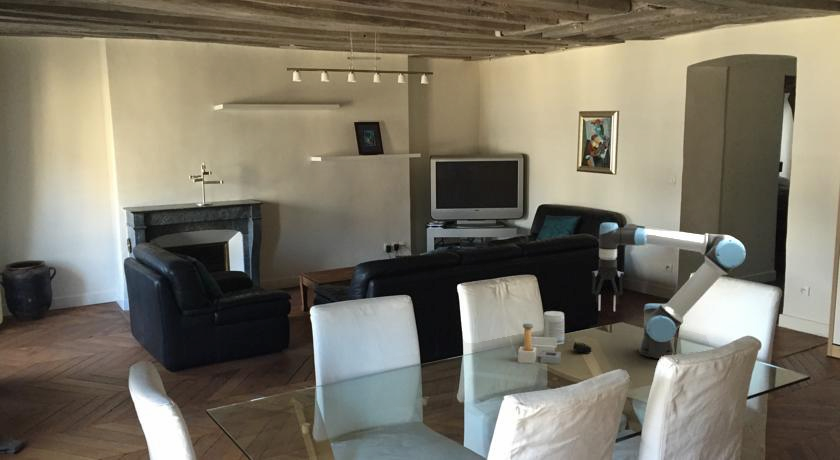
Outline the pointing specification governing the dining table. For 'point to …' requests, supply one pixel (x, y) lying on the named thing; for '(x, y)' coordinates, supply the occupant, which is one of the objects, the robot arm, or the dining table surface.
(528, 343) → the lock pin
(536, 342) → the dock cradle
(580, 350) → the tape measure
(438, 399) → the dining table surface
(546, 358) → the pin mount
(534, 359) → the socket block
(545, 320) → the supplement tub
